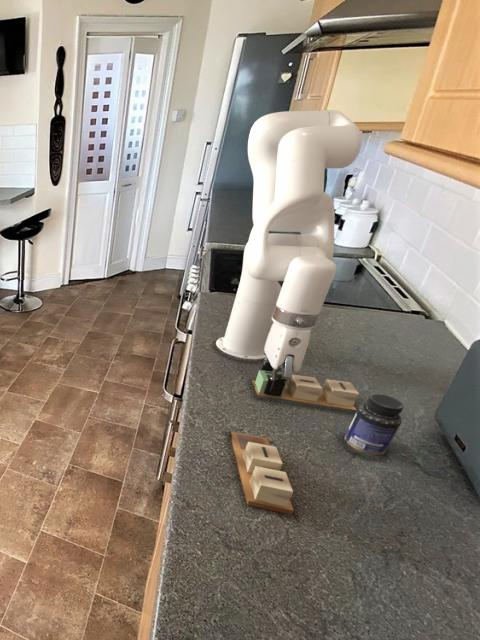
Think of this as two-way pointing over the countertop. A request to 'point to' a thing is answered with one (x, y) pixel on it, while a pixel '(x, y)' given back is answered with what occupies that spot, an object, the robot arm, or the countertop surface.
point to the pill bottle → (375, 424)
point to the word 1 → (262, 473)
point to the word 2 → (318, 392)
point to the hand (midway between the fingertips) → (268, 386)
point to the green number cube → (264, 380)
